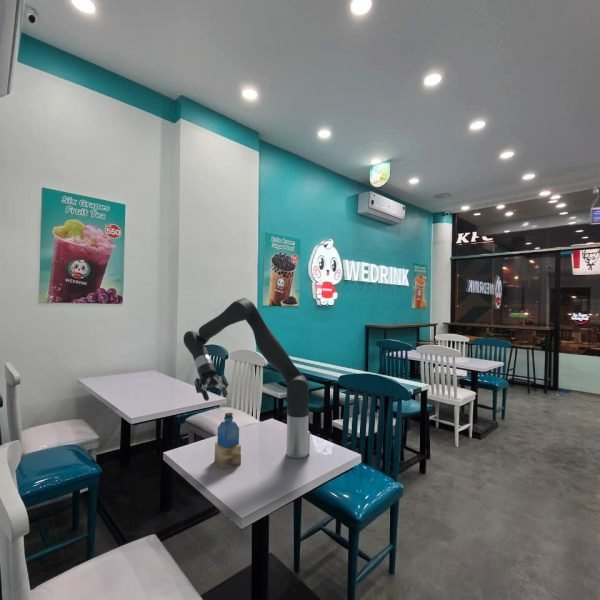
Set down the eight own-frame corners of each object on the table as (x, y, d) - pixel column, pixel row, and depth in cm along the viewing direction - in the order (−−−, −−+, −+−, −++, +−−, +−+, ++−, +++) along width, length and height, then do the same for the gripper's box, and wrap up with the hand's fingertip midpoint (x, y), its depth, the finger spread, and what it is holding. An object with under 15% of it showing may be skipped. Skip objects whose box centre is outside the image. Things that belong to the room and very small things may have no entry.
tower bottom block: (232, 457, 142) (233, 447, 142) (240, 465, 135) (241, 455, 135) (214, 462, 137) (214, 452, 137) (221, 470, 131) (222, 460, 131)
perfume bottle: (230, 439, 141) (231, 410, 141) (238, 443, 136) (239, 414, 136) (217, 443, 136) (217, 413, 137) (225, 448, 132) (226, 417, 132)
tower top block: (233, 448, 141) (233, 438, 141) (240, 455, 135) (240, 445, 135) (214, 452, 137) (215, 442, 137) (221, 460, 130) (221, 449, 130)
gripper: (193, 363, 146) (204, 396, 137) (222, 360, 155) (234, 390, 147) (187, 373, 150) (198, 406, 141) (216, 370, 159) (228, 400, 151)
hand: (216, 398), depth 144 cm, fingers open, 8 cm apart
